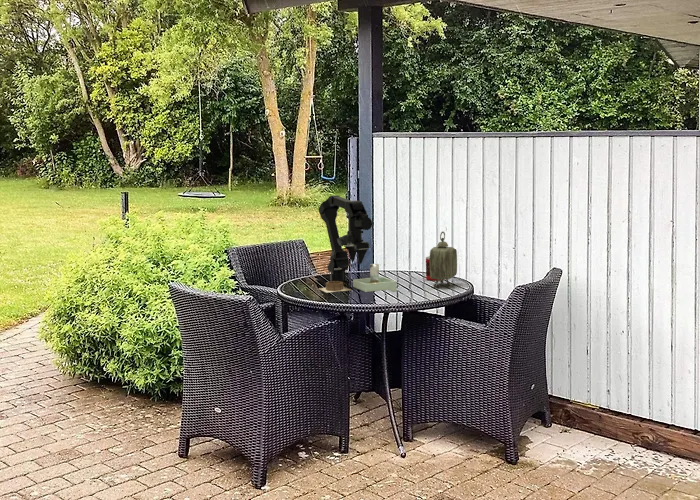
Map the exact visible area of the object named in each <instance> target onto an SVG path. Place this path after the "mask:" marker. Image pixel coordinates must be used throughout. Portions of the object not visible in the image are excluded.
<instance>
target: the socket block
mask: <svg viewBox="0 0 700 500" xmlns="http://www.w3.org/2000/svg"><path fill="white" fill-rule="evenodd" d="M318 289H319V290H320V291H322V292H324V293H326V294H327V293H334V292H335V293H337V292H346V291H352V289H350V288H348V287H346V286H344V281H343V282H341V281H331V282H330V281H327V282H325V287H319V288H318Z"/></svg>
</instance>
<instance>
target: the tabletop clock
mask: <svg viewBox="0 0 700 500" xmlns="http://www.w3.org/2000/svg"><path fill="white" fill-rule="evenodd" d="M442 234H443V237H442ZM439 239H440V241H439V242H438V243H437V246H433V247H432V248H431V249H430V251H429V256H430V278H431V279H437V281H435V283H433V286H432V287H433V288H436V287H437V286H438V283H440V284H444V280H446V286H447V287H450V286H451V282H449V280H450V279H453V278H454V277H455V276H456V275H457V273H458V253H457V252H458V251H457V249H456V248H454V247H453V246H449V244H448V242H446V241H445V239H446V233H445V231H441V232H440V235H439ZM440 279H442V280H440Z"/></svg>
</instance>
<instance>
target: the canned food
mask: <svg viewBox="0 0 700 500" xmlns="http://www.w3.org/2000/svg"><path fill="white" fill-rule="evenodd" d="M425 278H426V280H427V281H429V282H431V281H432V282H434V281H435V282H436V281H437V279H431V278H430V255H428V256H426V257H425ZM439 281H441V279H440V280H439Z"/></svg>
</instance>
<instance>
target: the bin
mask: <svg viewBox="0 0 700 500" xmlns="http://www.w3.org/2000/svg"><path fill="white" fill-rule="evenodd" d="M369 282H370V277H366V278H356V279H352V285H353V286H352V287H353V288H354V289H357V290H359V291H362V292H365V293H369V292H379V291H390V292H393V293H394V292H398V289H397V282H398V281H396V280H394V279H391V278H389V277H388V278H387V277H385V276H379V282H380V283H372V284H369Z"/></svg>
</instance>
